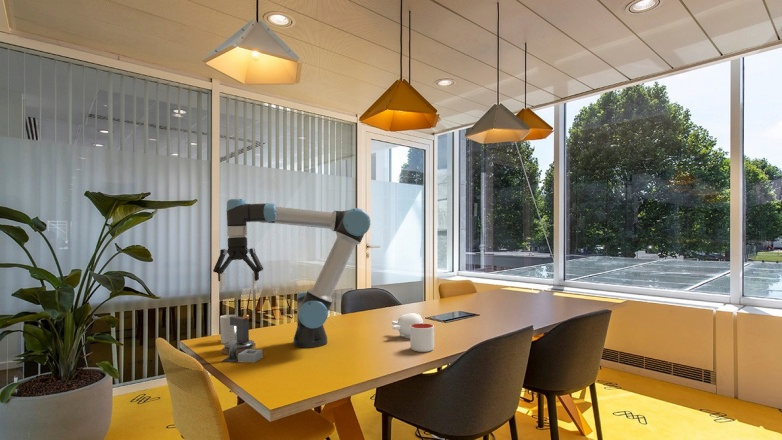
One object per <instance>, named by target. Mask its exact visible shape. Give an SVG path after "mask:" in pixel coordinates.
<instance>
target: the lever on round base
mask: <svg viewBox="0 0 782 440" xmlns="http://www.w3.org/2000/svg"><path fill="white" fill-rule="evenodd" d="M249 320H250V314H243V315H242V316H238V315H236V316H232V317H230V326H231V325H237V349H242V348H247V347H251V346H253V345H254V343H255V342H254V340H253V339H250V336H249V335H250V333H249V332H250V328H249V327H250V325H249V323H250V322H249ZM223 348H227V349H229V342H227V343H225V344H224V347H223Z"/></svg>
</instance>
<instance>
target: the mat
mask: <svg viewBox="0 0 782 440" xmlns="http://www.w3.org/2000/svg"><path fill="white" fill-rule="evenodd" d="M221 363H238V356H237V359H235V360H229V356H228V357H226V358H224V359H223V360H221Z"/></svg>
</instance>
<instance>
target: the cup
mask: <svg viewBox="0 0 782 440" xmlns="http://www.w3.org/2000/svg"><path fill="white" fill-rule="evenodd" d="M409 342H410V349H411V350H412V351H414V352H417V353H427V352H432V351H433V350H434V348H435V325H434V324H432V323H431V324H430V323H419V324H413V325H411V326H410V341H409Z"/></svg>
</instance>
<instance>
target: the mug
mask: <svg viewBox="0 0 782 440" xmlns="http://www.w3.org/2000/svg"><path fill="white" fill-rule="evenodd" d="M232 316H237V315H236V314H224V315H220V317H219V319H220V320H219V321H220V322H219V324H220V327H219V329H220V331H219V332H220V343H221V344H222V345H223V344H225V343H227V342H229V326H230V317H232Z"/></svg>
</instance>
